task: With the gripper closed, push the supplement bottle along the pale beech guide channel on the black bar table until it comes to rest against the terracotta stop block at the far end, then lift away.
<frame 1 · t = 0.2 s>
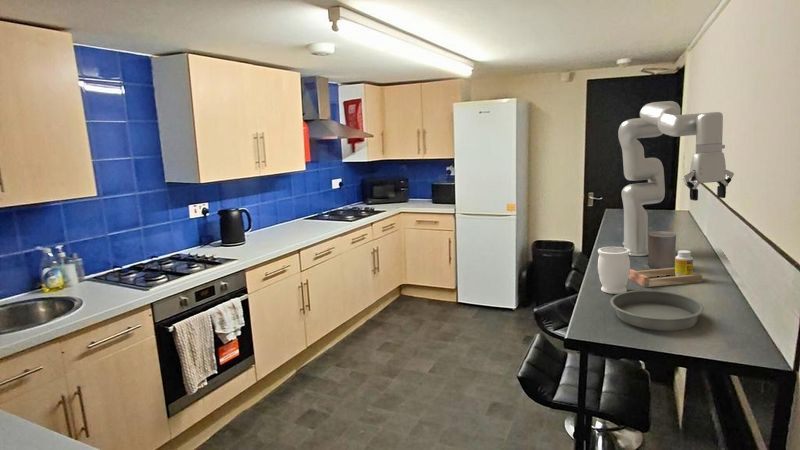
hand: (707, 198, 160), 30 cm above the table, tool pointing down, fingers open, 9 cm apart
channel: (663, 279, 171), on the table
jar: (613, 291, 164), on the table
supplement bottle: (683, 278, 171), on the table
pillar candle: (661, 267, 187), on the table
cake pan: (654, 317, 140), on the table
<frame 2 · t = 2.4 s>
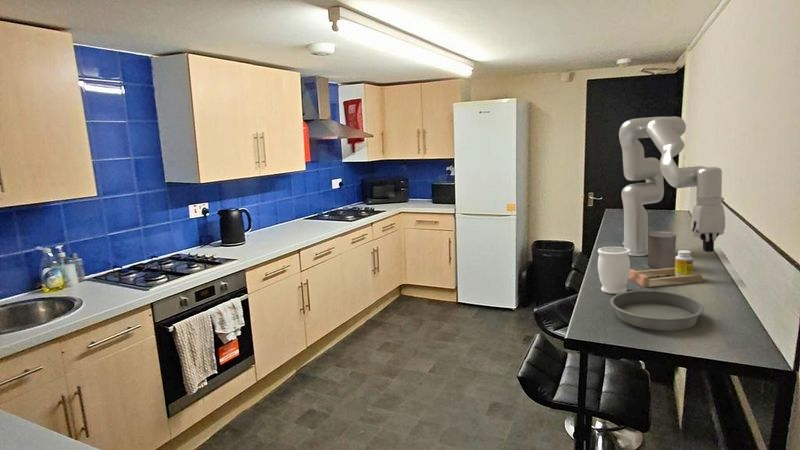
hand: (708, 251, 169), 10 cm above the table, tool pointing down, fingers closed
nothing on the table moved.
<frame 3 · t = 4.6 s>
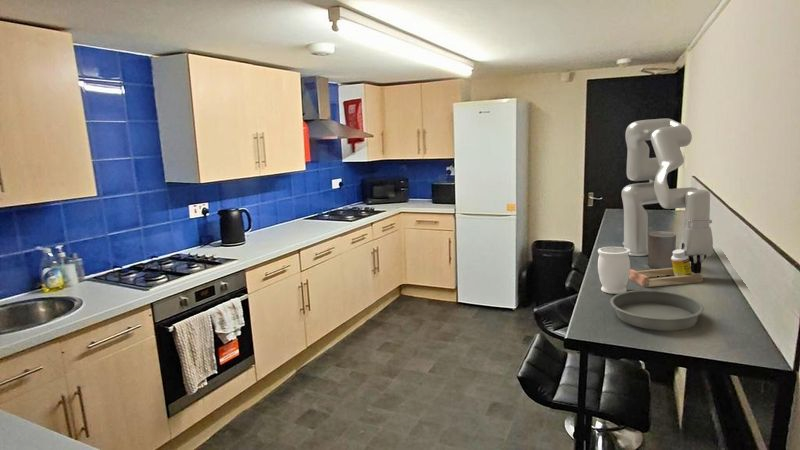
hand: (695, 272, 170), 2 cm above the table, tool pointing down, fingers closed
supplement bottle: (683, 277, 171), on the table, touching gripper
everything else where it was.
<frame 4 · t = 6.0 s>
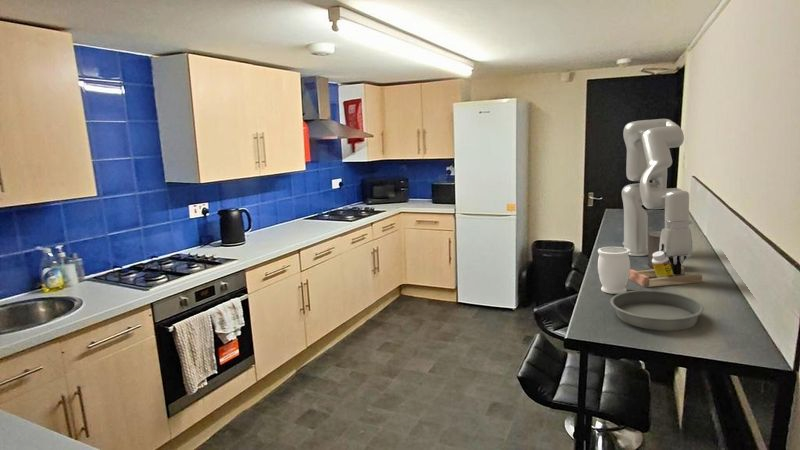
hand: (676, 273, 170), 2 cm above the table, tool pointing down, fingers closed
supplement bottle: (666, 278, 170), point 1 cm above the table, touching gripper
everything else where it was.
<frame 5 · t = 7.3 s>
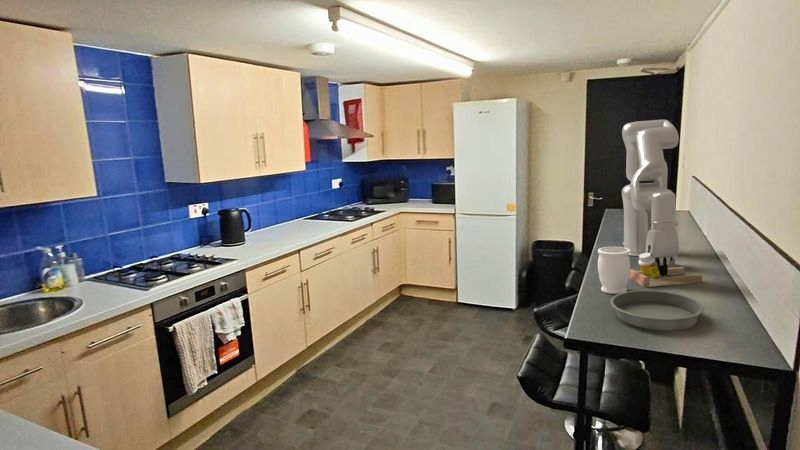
hand: (662, 274, 169), 2 cm above the table, tool pointing down, fingers closed
supplement bottle: (652, 279, 170), point 1 cm above the table, touching gripper
everything else where it was.
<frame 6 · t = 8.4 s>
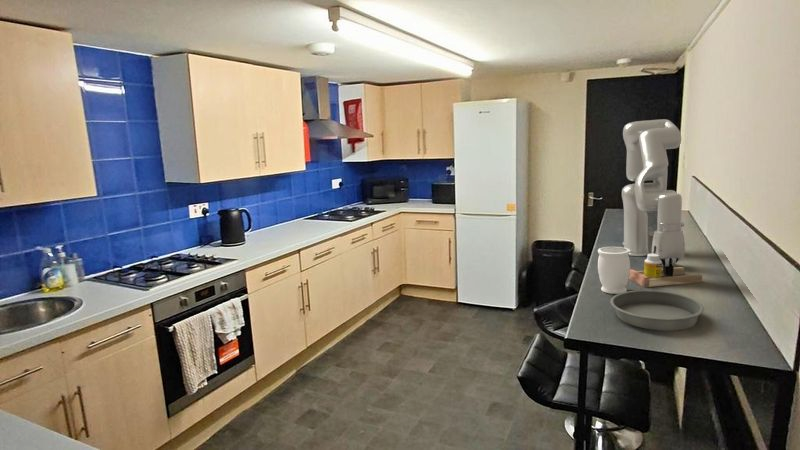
hand: (668, 275, 170), 2 cm above the table, tool pointing down, fingers closed
supplement bottle: (652, 282, 170), on the table
everything else where it was.
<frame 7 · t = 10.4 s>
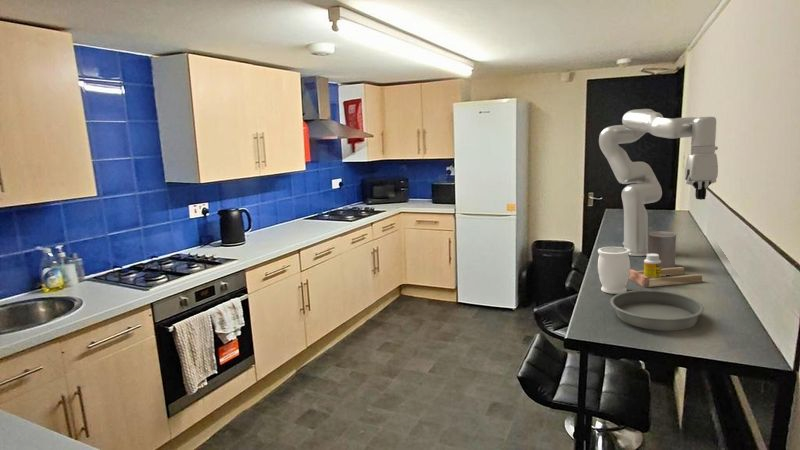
hand: (700, 198, 175), 28 cm above the table, tool pointing down, fingers closed
nothing on the table moved.
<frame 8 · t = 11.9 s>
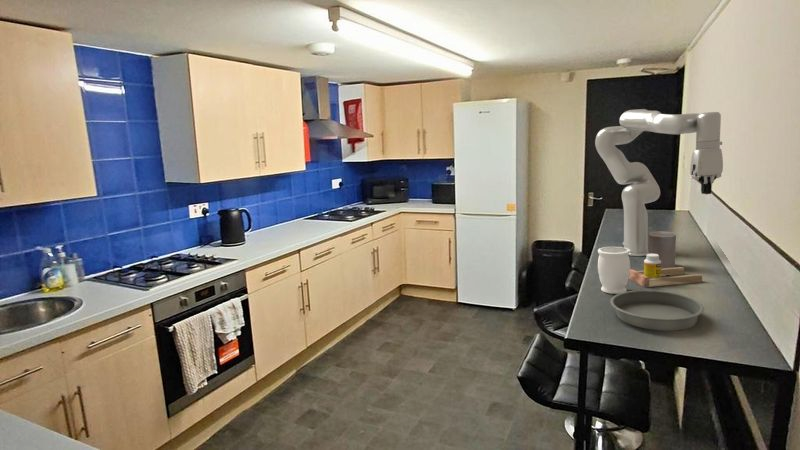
hand: (706, 193, 177), 29 cm above the table, tool pointing down, fingers closed
nothing on the table moved.
at the end: supplement bottle 1.2 cm from the target spot, on the table; supplement bottle tilted 1°; supplement bottle moved 12.3 cm from its start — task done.
